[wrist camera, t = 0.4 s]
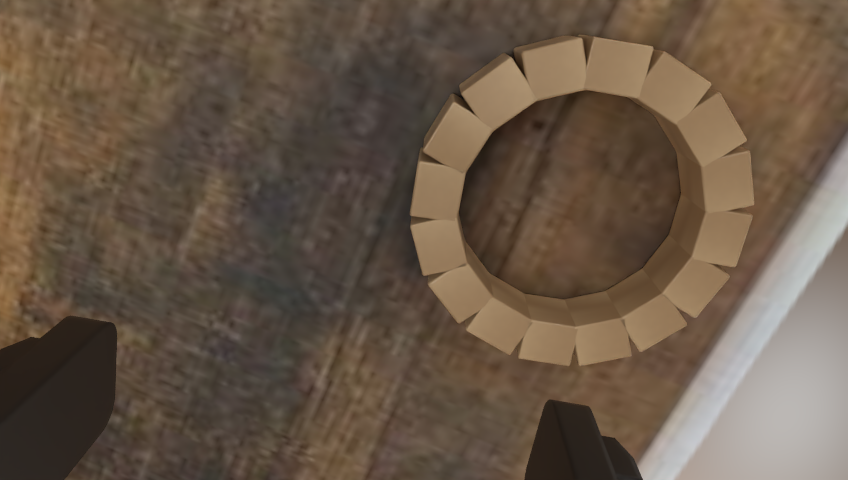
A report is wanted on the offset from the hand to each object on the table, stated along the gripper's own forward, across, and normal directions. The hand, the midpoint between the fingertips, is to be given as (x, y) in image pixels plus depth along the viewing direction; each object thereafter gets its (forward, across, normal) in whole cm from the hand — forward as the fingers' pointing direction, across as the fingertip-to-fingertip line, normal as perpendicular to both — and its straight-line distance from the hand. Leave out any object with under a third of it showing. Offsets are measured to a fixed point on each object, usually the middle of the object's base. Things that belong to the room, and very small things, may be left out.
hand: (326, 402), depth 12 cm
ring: (+13, -7, -2) cm, 15 cm away
